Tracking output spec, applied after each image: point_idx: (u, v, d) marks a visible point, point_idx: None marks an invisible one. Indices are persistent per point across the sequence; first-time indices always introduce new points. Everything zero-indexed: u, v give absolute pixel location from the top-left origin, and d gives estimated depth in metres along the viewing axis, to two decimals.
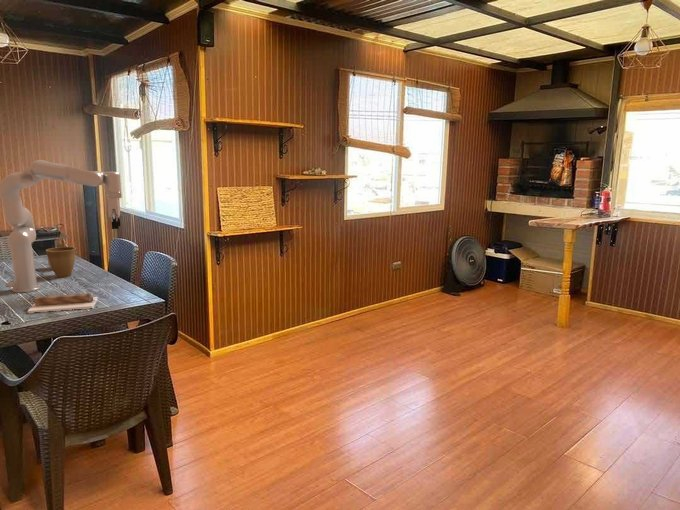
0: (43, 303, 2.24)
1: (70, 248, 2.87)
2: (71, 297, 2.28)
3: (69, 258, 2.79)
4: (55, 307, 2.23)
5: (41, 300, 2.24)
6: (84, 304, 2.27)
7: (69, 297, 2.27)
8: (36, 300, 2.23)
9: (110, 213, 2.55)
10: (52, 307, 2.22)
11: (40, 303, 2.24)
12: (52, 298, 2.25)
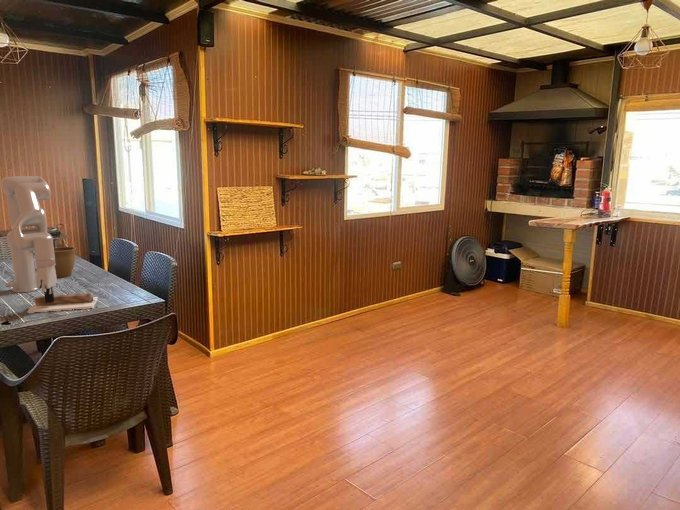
0: (43, 303, 2.25)
1: (70, 248, 2.87)
2: (71, 297, 2.28)
3: (69, 258, 2.79)
4: (55, 307, 2.23)
5: (41, 299, 2.25)
6: (84, 304, 2.27)
7: (69, 297, 2.28)
8: (36, 300, 2.24)
9: (38, 284, 2.17)
10: (52, 307, 2.22)
11: (40, 303, 2.25)
12: None
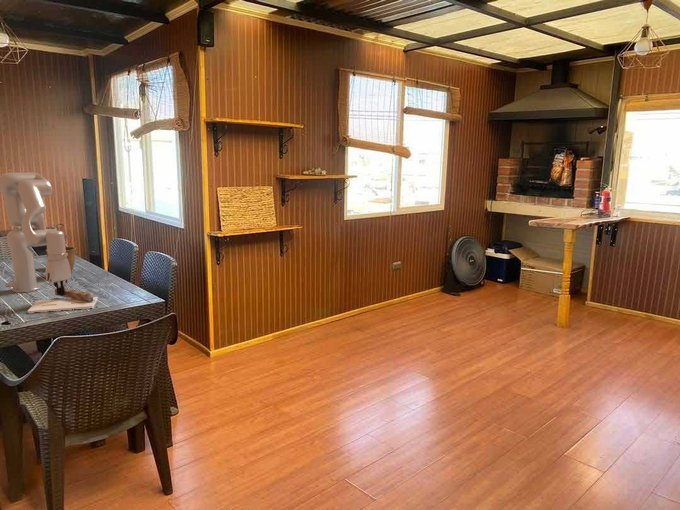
0: None
1: (70, 248, 2.87)
2: (76, 294, 2.33)
3: (69, 258, 2.79)
4: (55, 307, 2.23)
5: None
6: (84, 304, 2.27)
7: (74, 293, 2.33)
8: (55, 290, 2.39)
9: (46, 277, 2.30)
10: (52, 307, 2.22)
11: None
12: (65, 291, 2.36)
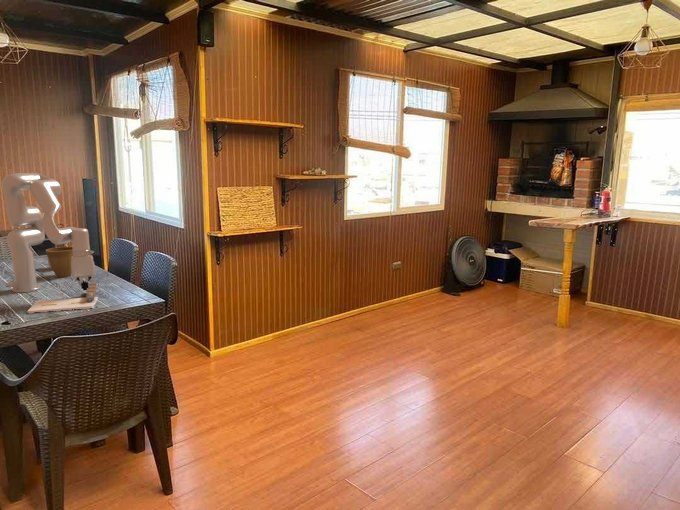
0: None
1: (70, 248, 2.87)
2: None
3: (69, 258, 2.79)
4: (55, 307, 2.23)
5: None
6: (84, 304, 2.27)
7: None
8: None
9: None
10: (52, 307, 2.22)
11: None
12: None
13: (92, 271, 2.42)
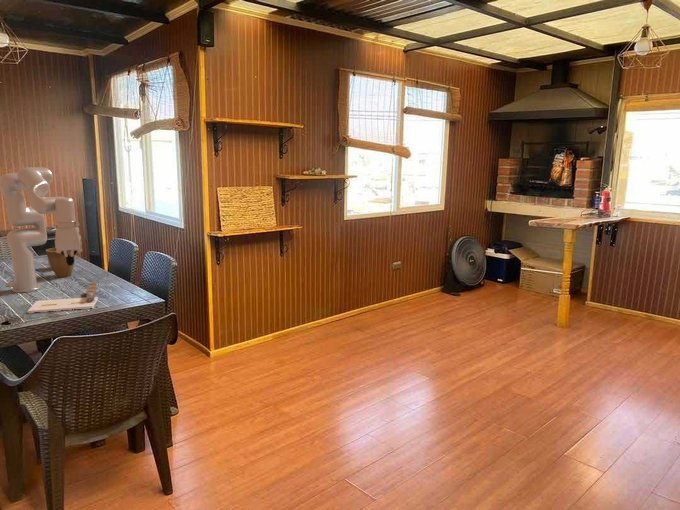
0: None
1: None
2: None
3: None
4: (55, 307, 2.23)
5: None
6: (84, 304, 2.27)
7: (87, 291, 2.38)
8: None
9: None
10: (52, 307, 2.22)
11: None
12: None
13: (77, 245, 2.24)
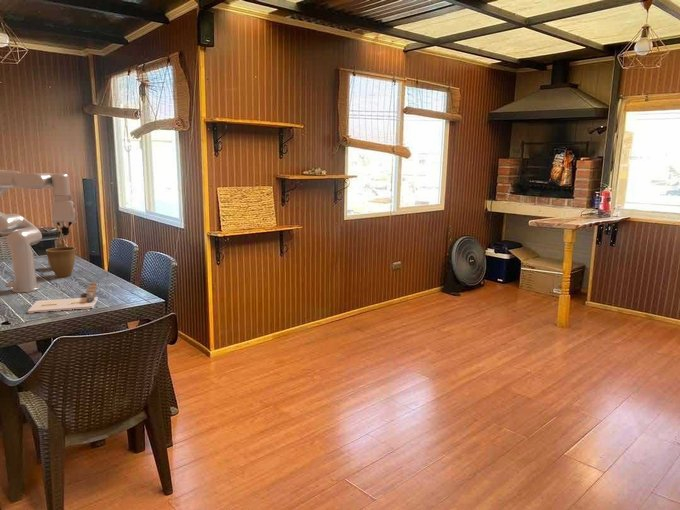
0: None
1: (70, 248, 2.87)
2: None
3: (69, 258, 2.79)
4: (55, 307, 2.23)
5: None
6: (84, 304, 2.27)
7: (87, 291, 2.38)
8: None
9: None
10: (52, 307, 2.22)
11: None
12: None
13: (72, 216, 2.46)
